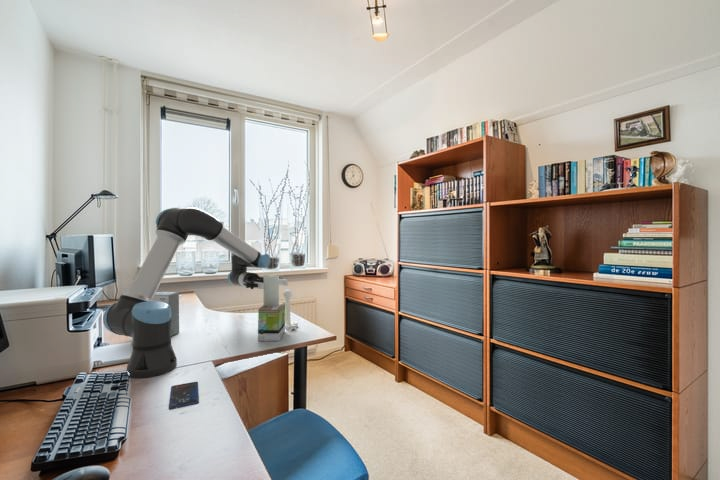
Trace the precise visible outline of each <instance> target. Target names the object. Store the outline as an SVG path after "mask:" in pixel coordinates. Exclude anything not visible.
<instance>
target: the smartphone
mask: <svg viewBox="0 0 720 480" xmlns="http://www.w3.org/2000/svg"><path fill="white" fill-rule="evenodd" d="M168 402H169V403H168V410H174V409H176V408H177V409H180V408H185V407H189V406H194V405H198V404H199V403H200V395H199V381H192V382H185V383H181V384H175V385H171V388H170V396H169V401H168Z"/></svg>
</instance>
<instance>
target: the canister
mask: <svg viewBox="0 0 720 480" xmlns="http://www.w3.org/2000/svg"><path fill="white" fill-rule="evenodd" d="M263 277H264V289H263V290H262V291H263V293H262V294H263V297H262V298H263V304H262V306H265V307H274V306H278V305H279V303H280V300H279V298H280V296H279V295H280V287H279V286H280V284H279V277H280V275H279V274H267V275H266V274H265V275H263Z"/></svg>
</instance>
